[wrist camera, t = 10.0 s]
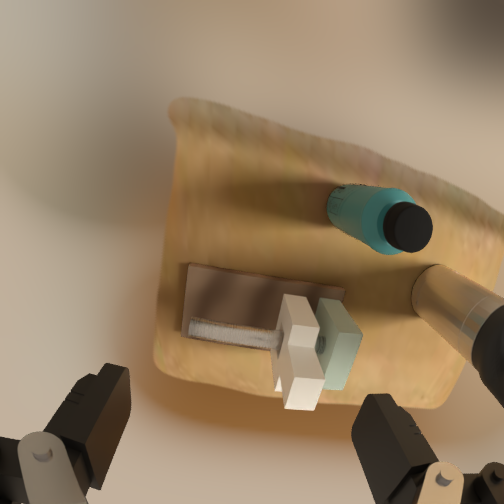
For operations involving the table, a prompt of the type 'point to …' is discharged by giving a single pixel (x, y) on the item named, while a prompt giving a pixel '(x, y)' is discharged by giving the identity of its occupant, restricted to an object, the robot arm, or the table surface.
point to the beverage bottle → (380, 218)
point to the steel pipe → (243, 334)
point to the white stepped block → (297, 355)
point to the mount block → (337, 342)
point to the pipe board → (244, 297)
